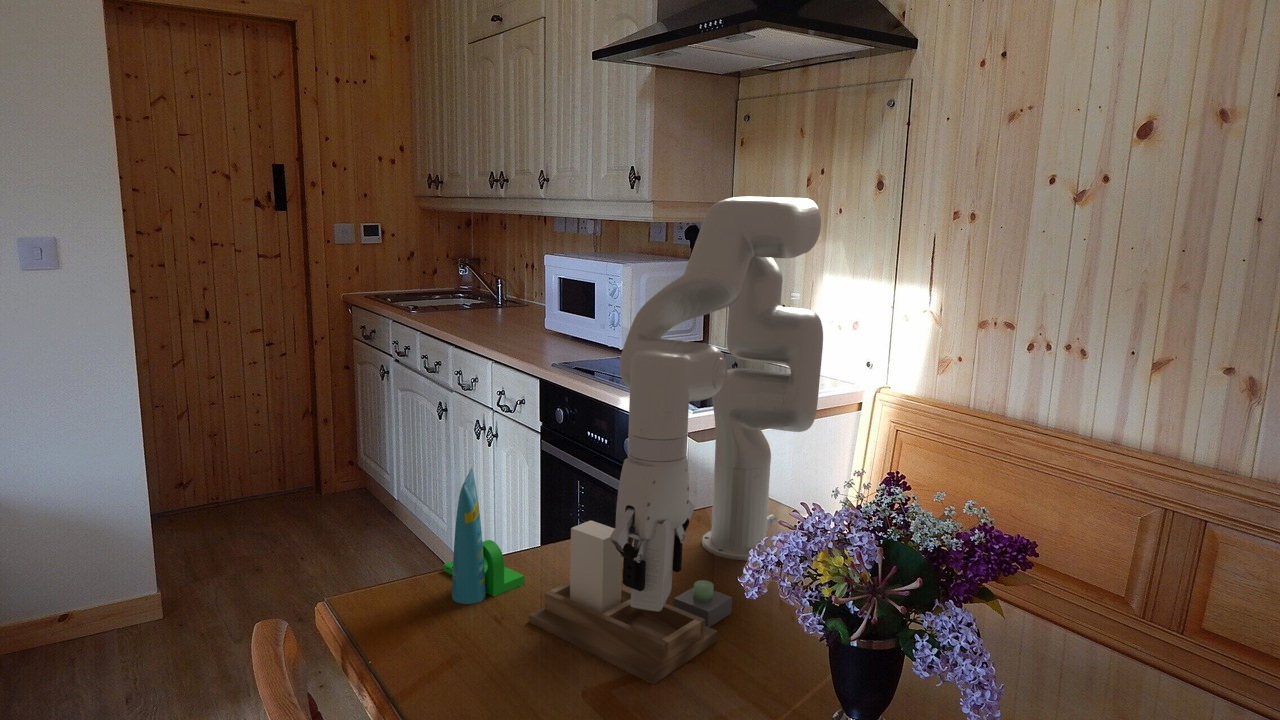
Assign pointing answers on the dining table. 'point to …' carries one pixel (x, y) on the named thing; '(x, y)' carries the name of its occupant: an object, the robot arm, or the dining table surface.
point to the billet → (595, 567)
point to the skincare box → (656, 569)
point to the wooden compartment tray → (627, 633)
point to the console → (705, 606)
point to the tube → (468, 547)
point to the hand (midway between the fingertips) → (652, 577)
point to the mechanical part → (495, 571)
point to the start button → (703, 591)
